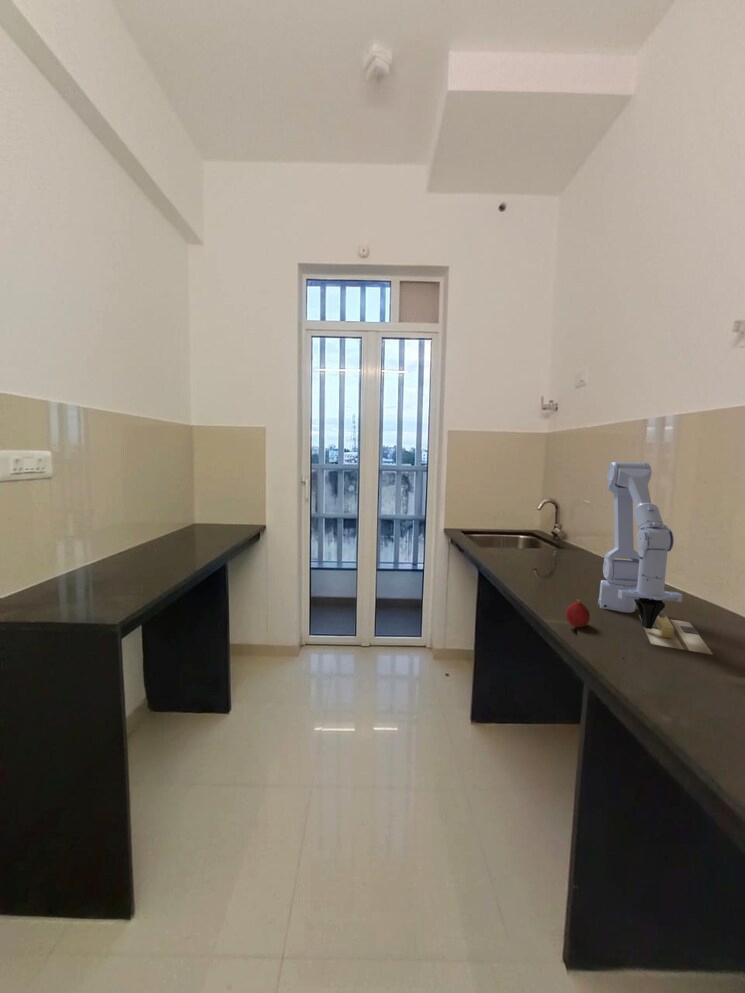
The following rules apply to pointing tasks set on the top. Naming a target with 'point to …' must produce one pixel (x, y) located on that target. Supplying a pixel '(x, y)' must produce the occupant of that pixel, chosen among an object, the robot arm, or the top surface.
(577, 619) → the onion
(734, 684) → the top surface
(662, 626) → the swing bar
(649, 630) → the door board
